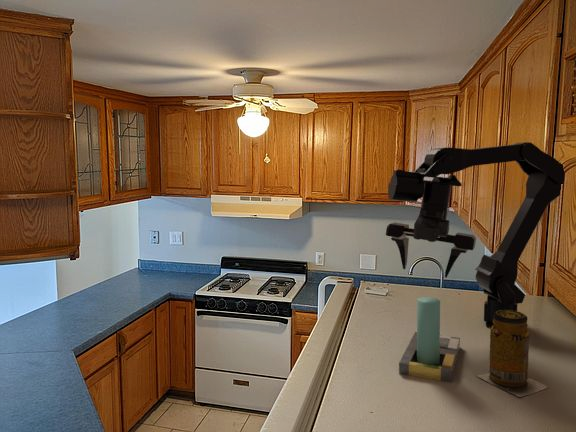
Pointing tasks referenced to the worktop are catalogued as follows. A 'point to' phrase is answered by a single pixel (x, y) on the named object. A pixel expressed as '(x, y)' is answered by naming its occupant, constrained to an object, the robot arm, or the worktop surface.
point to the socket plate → (431, 371)
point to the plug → (428, 331)
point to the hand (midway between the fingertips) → (424, 273)
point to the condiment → (510, 354)
